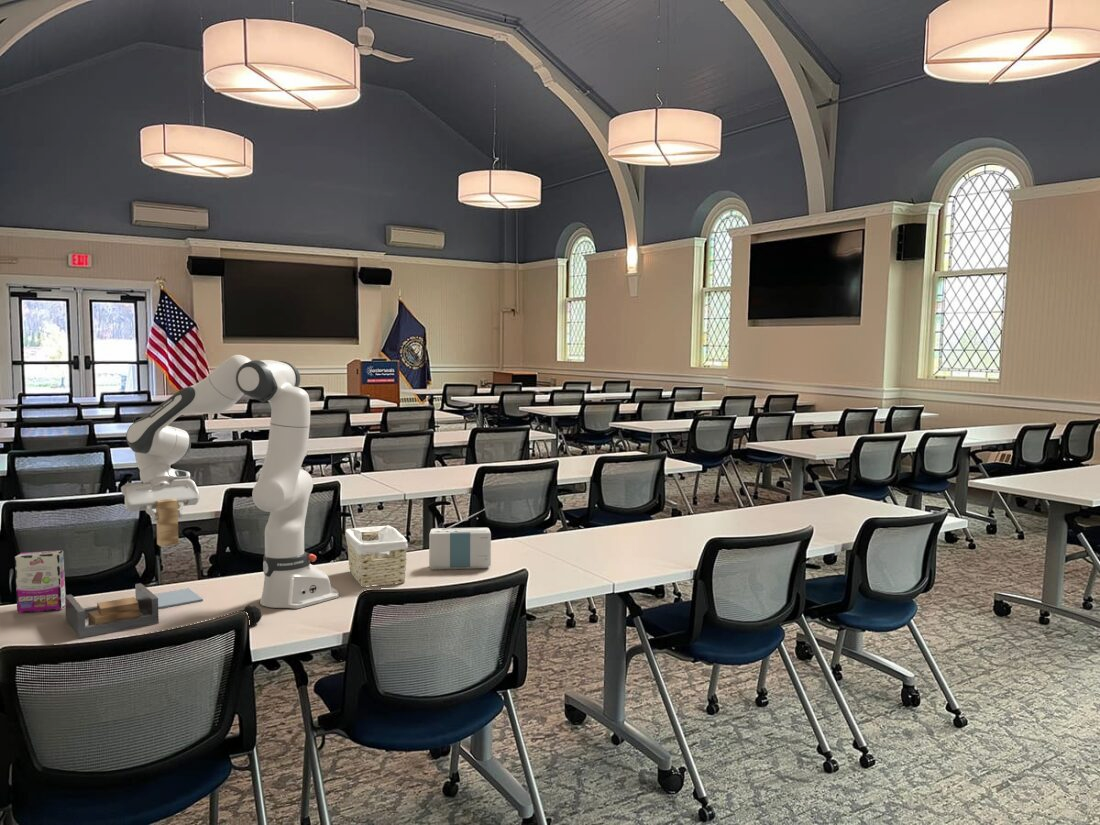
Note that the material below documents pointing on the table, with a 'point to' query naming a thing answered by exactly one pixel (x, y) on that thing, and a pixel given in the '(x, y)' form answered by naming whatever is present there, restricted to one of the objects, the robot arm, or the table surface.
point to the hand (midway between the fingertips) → (167, 517)
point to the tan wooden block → (167, 522)
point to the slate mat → (177, 598)
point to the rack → (79, 614)
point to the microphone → (253, 614)
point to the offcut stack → (114, 611)
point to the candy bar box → (40, 581)
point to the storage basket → (377, 555)
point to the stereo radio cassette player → (459, 547)
